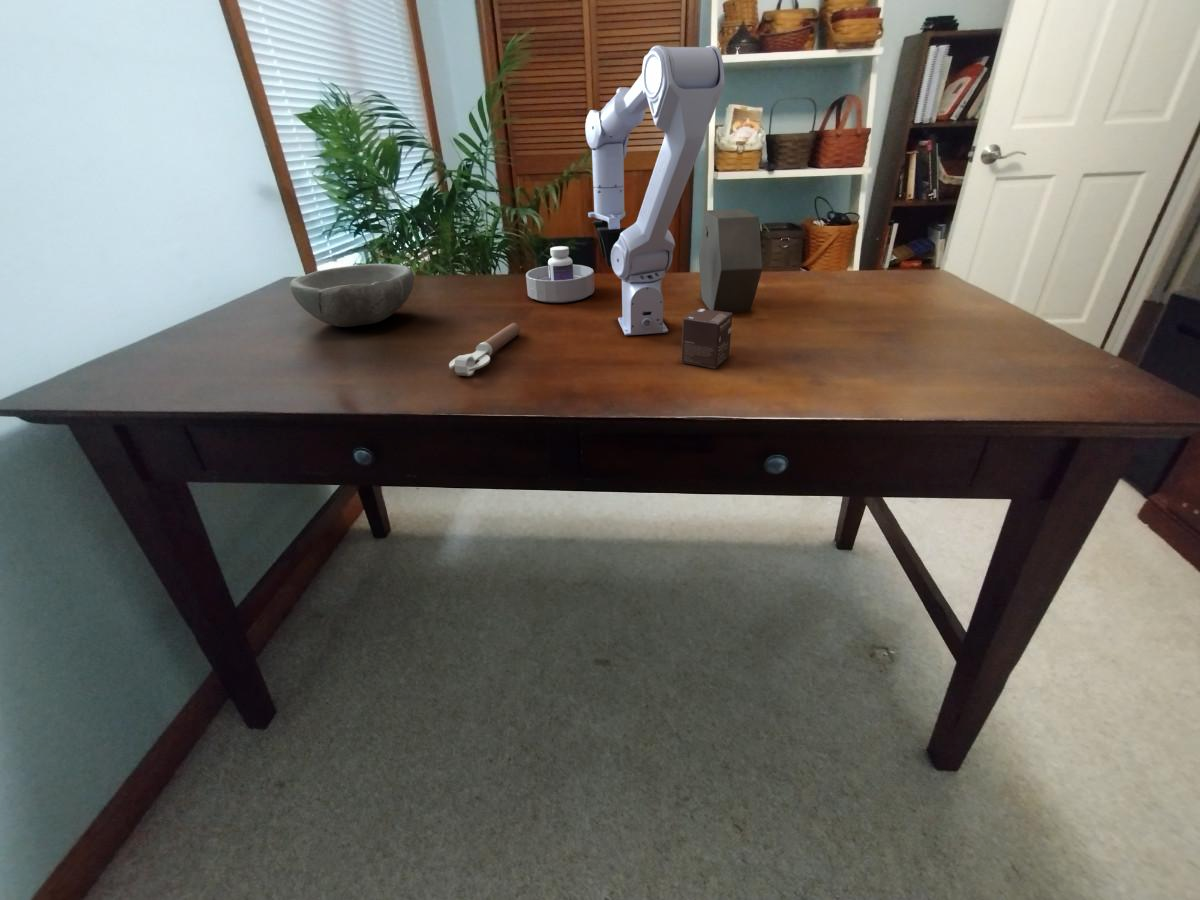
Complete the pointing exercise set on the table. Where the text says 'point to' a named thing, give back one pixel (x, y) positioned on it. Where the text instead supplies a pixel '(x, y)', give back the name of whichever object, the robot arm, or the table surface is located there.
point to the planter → (730, 260)
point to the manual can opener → (483, 351)
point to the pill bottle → (560, 264)
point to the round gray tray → (560, 285)
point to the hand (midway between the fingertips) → (610, 261)
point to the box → (706, 338)
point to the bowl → (354, 293)
